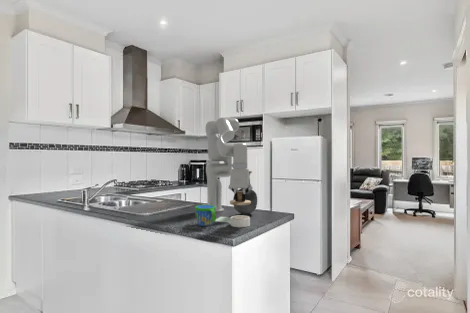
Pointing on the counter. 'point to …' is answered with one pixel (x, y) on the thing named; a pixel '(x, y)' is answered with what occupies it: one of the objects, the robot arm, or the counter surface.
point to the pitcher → (251, 207)
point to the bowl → (240, 221)
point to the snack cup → (205, 214)
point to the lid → (240, 200)
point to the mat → (223, 219)
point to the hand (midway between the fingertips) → (240, 200)
